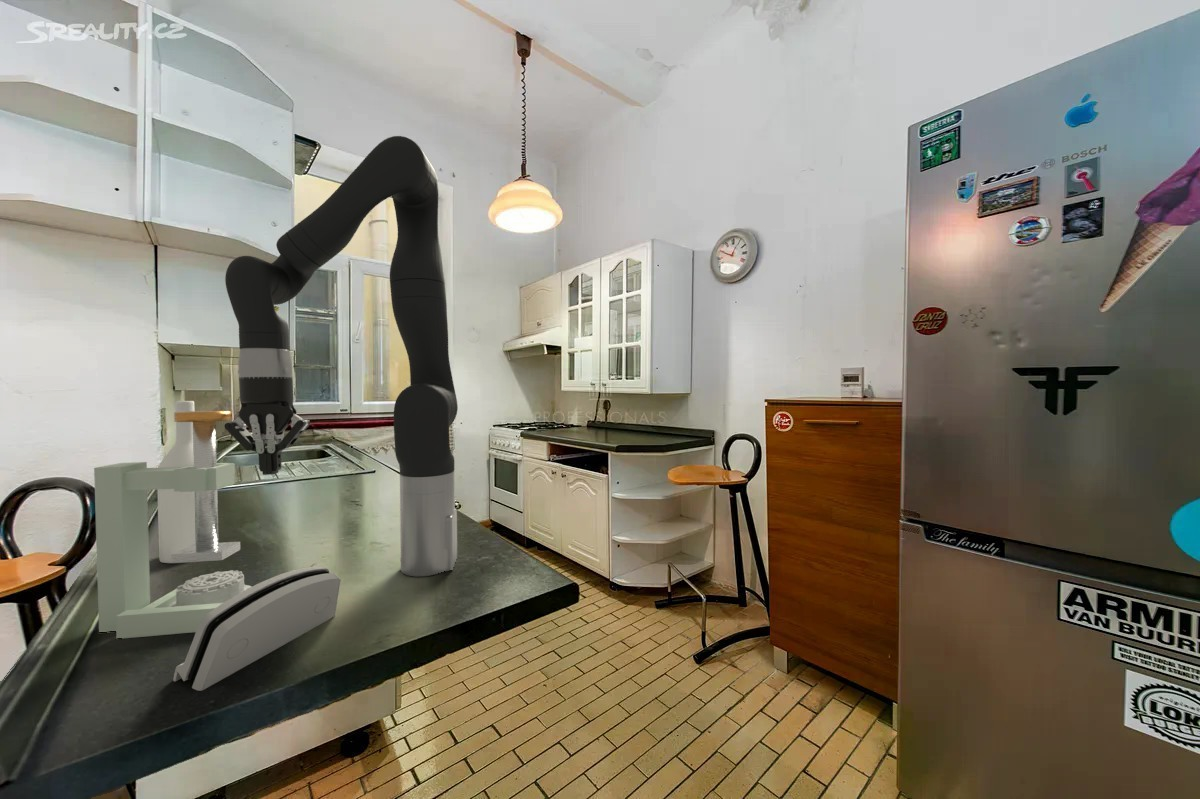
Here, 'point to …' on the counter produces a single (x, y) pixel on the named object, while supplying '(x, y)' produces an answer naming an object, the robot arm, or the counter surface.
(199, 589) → the mechanical component
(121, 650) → the counter surface
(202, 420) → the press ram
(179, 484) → the frame
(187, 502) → the bottle
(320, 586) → the grey curved housing
